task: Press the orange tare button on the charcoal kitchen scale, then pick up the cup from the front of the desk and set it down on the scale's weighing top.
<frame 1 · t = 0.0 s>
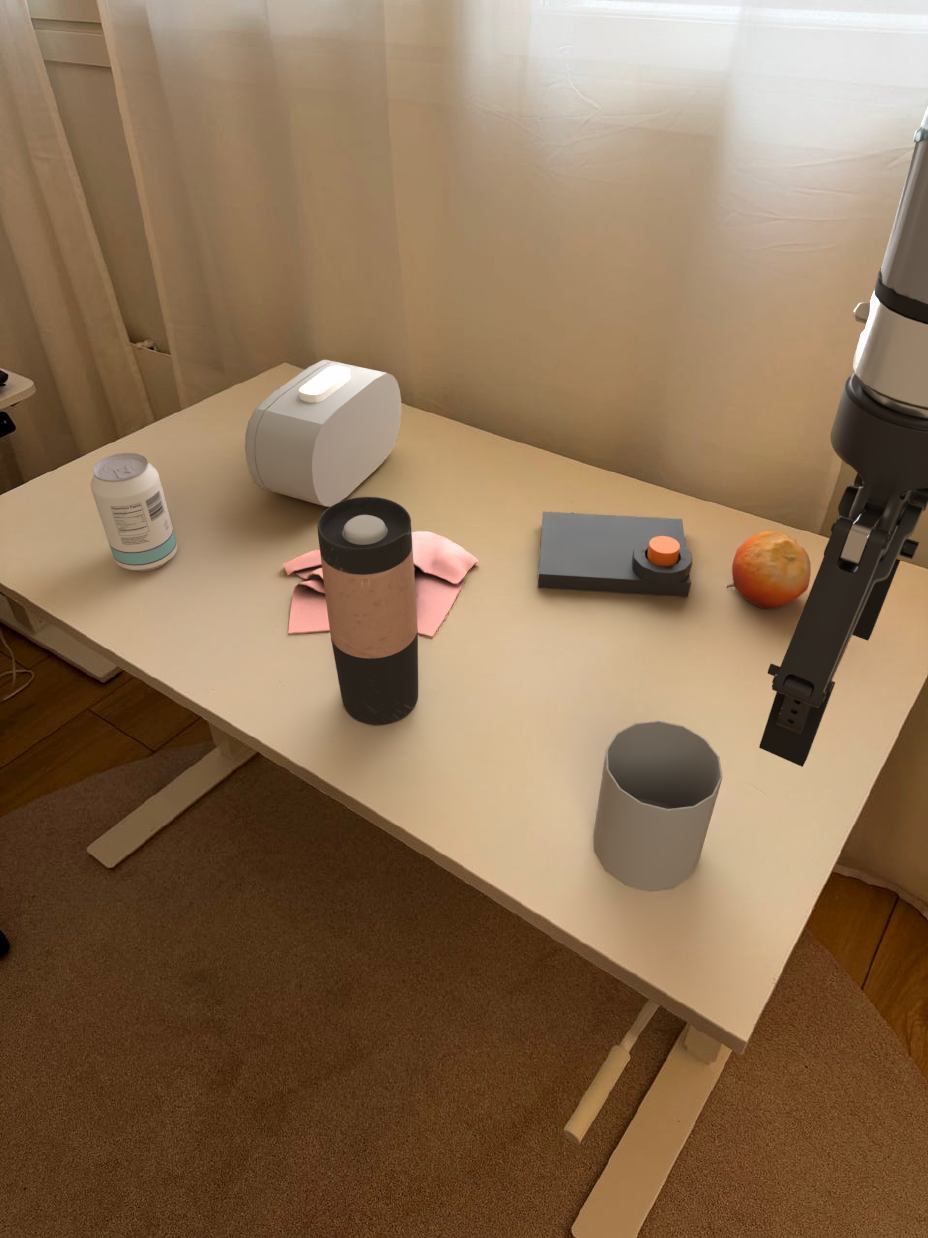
hand: (818, 688, 58), 19 cm above the table, tool pointing down, fingers open, 13 cm apart
alarm clock: (332, 478, 114), on the table
beverage can: (148, 559, 101), on the table
cup: (645, 846, 71), on the table
travel mug: (380, 699, 84), on the table
scale: (611, 559, 100), on the table
tare button: (663, 551, 94), point 4 cm above the table, slide at 0.1 cm
fruit: (763, 597, 95), on the table
cloth: (371, 584, 97), on the table
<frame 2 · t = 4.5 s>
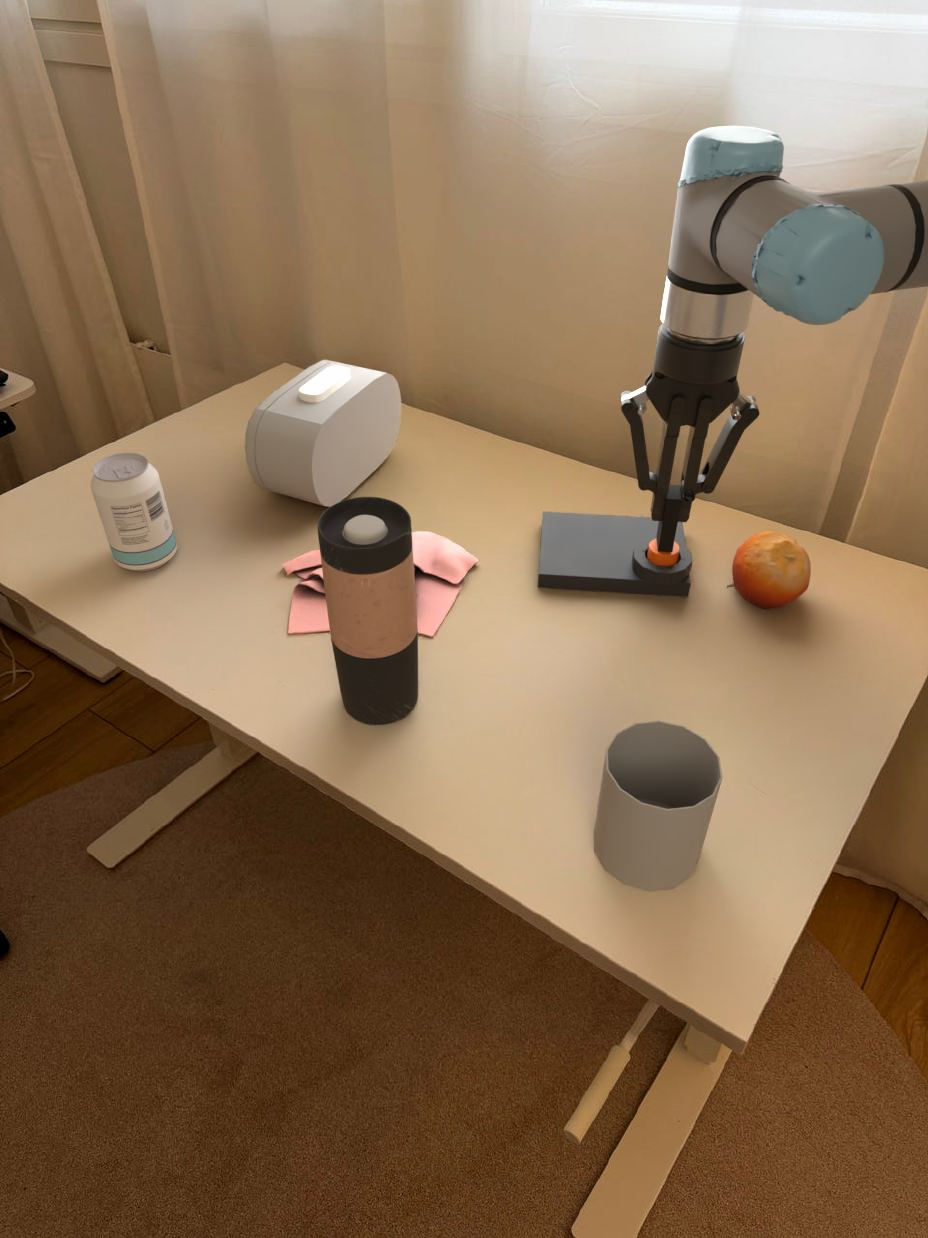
hand: (664, 544, 94), 5 cm above the table, tool pointing down, fingers closed
tare button: (663, 553, 95), point 4 cm above the table, slide at -0.1 cm, touching gripper
everything else where it was.
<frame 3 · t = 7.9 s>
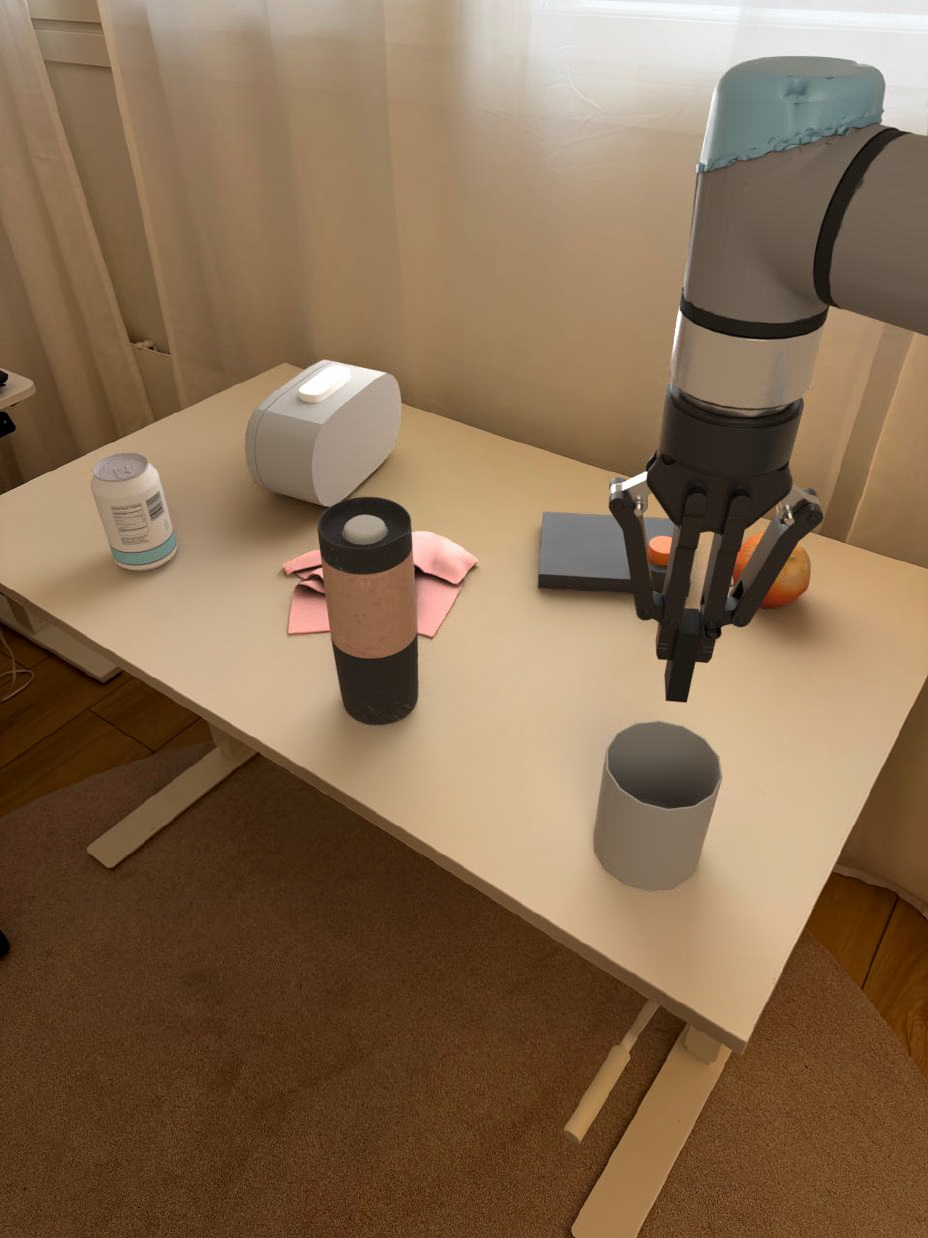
hand: (675, 688, 65), 14 cm above the table, tool pointing down, fingers closed
tare button: (663, 551, 94), point 4 cm above the table, slide at 0.1 cm
everything else where it was.
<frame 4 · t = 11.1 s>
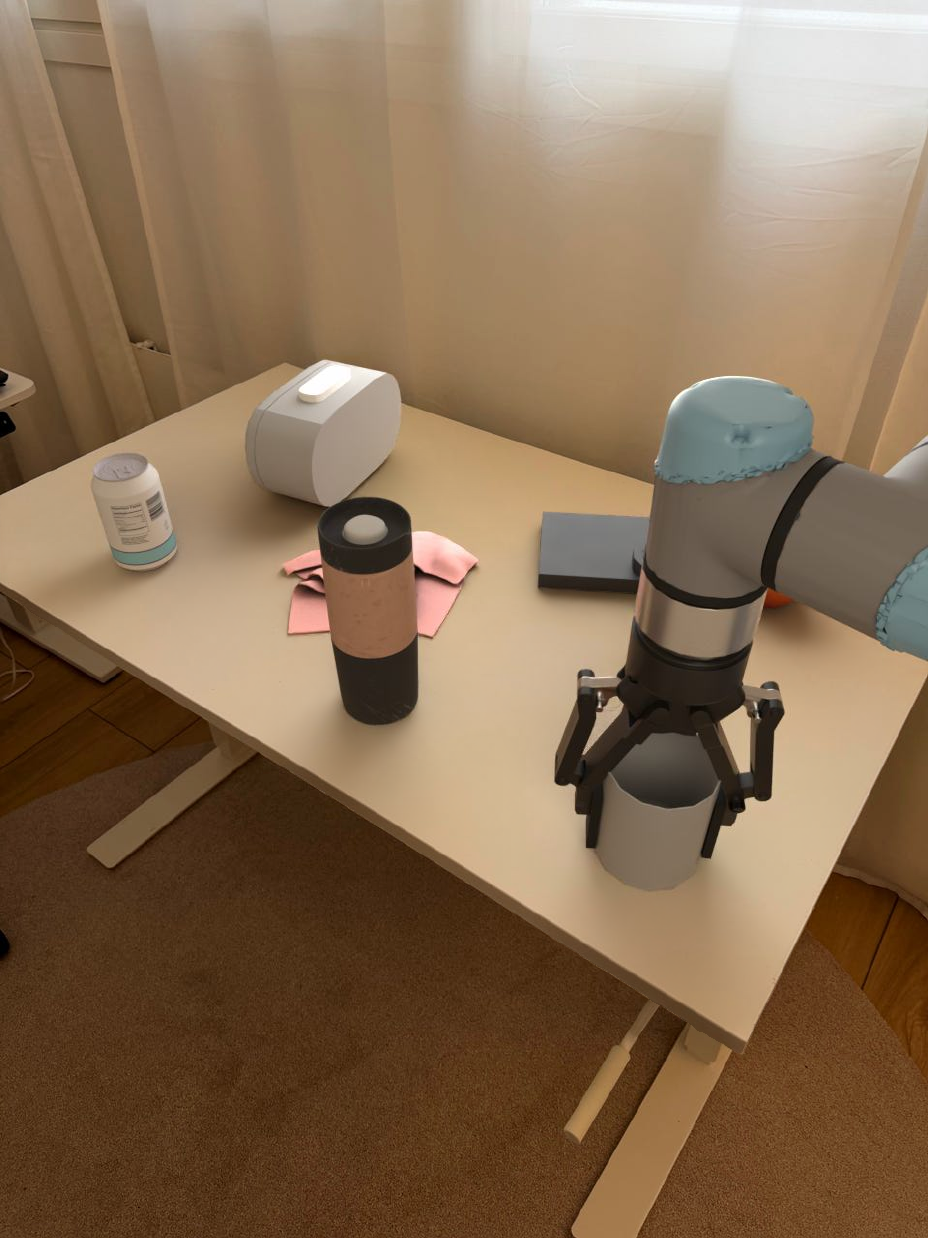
hand: (647, 839, 71), 1 cm above the table, tool pointing down, fingers closed on cup, 8 cm apart
cup: (645, 846, 71), on the table, touching gripper
everything else where it was.
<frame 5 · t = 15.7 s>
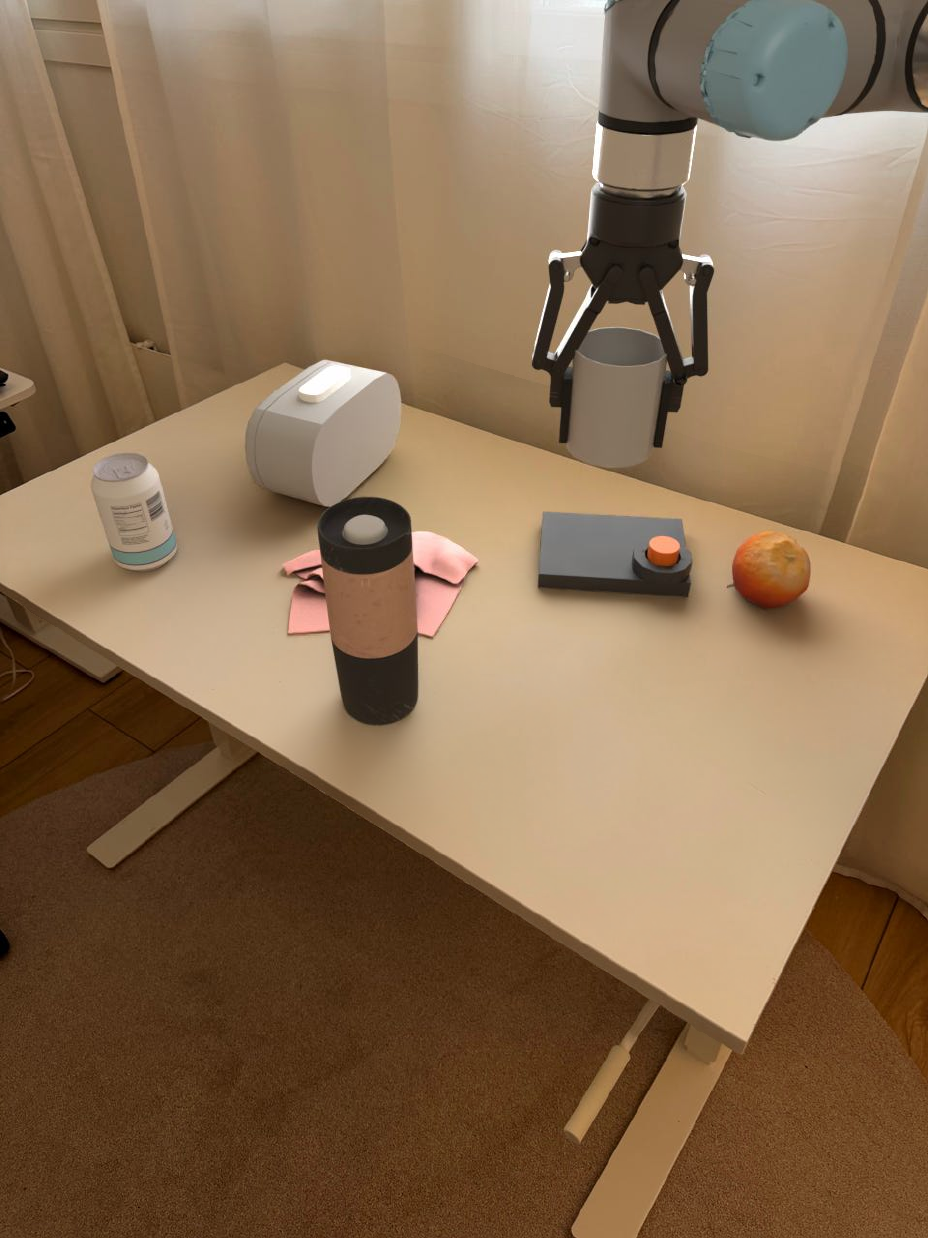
hand: (609, 438, 85), 18 cm above the table, tool pointing down, fingers closed on cup, 8 cm apart
cup: (608, 447, 86), point 17 cm above the table, touching gripper
everything else where it was.
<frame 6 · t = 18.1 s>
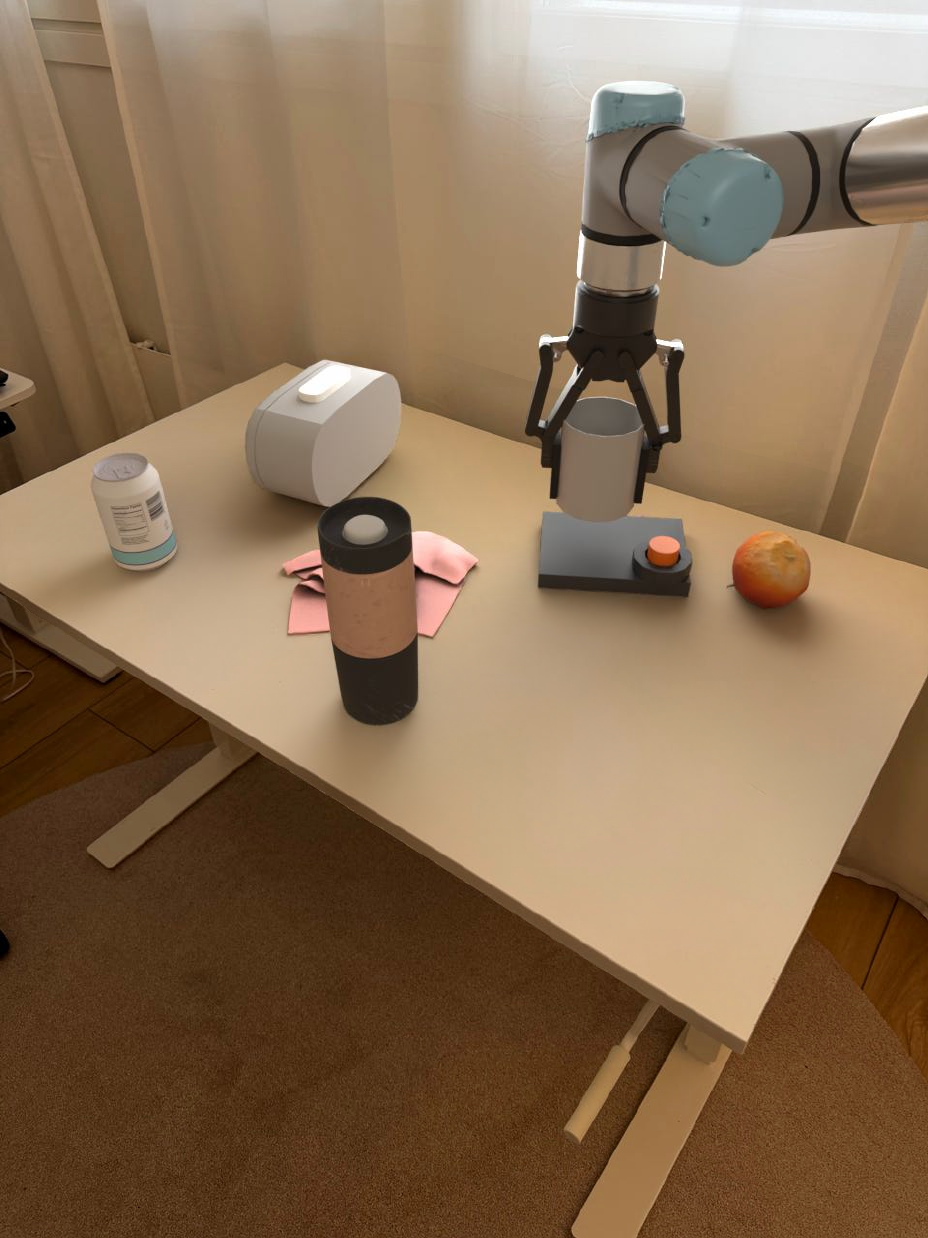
hand: (595, 494, 95), 8 cm above the table, tool pointing down, fingers closed on cup, 8 cm apart
cup: (594, 501, 96), point 7 cm above the table, touching gripper
everything else where it was.
when the fingers open (3 cm above the table, at t = 20.1 s): cup stays where it is, resting on scale.
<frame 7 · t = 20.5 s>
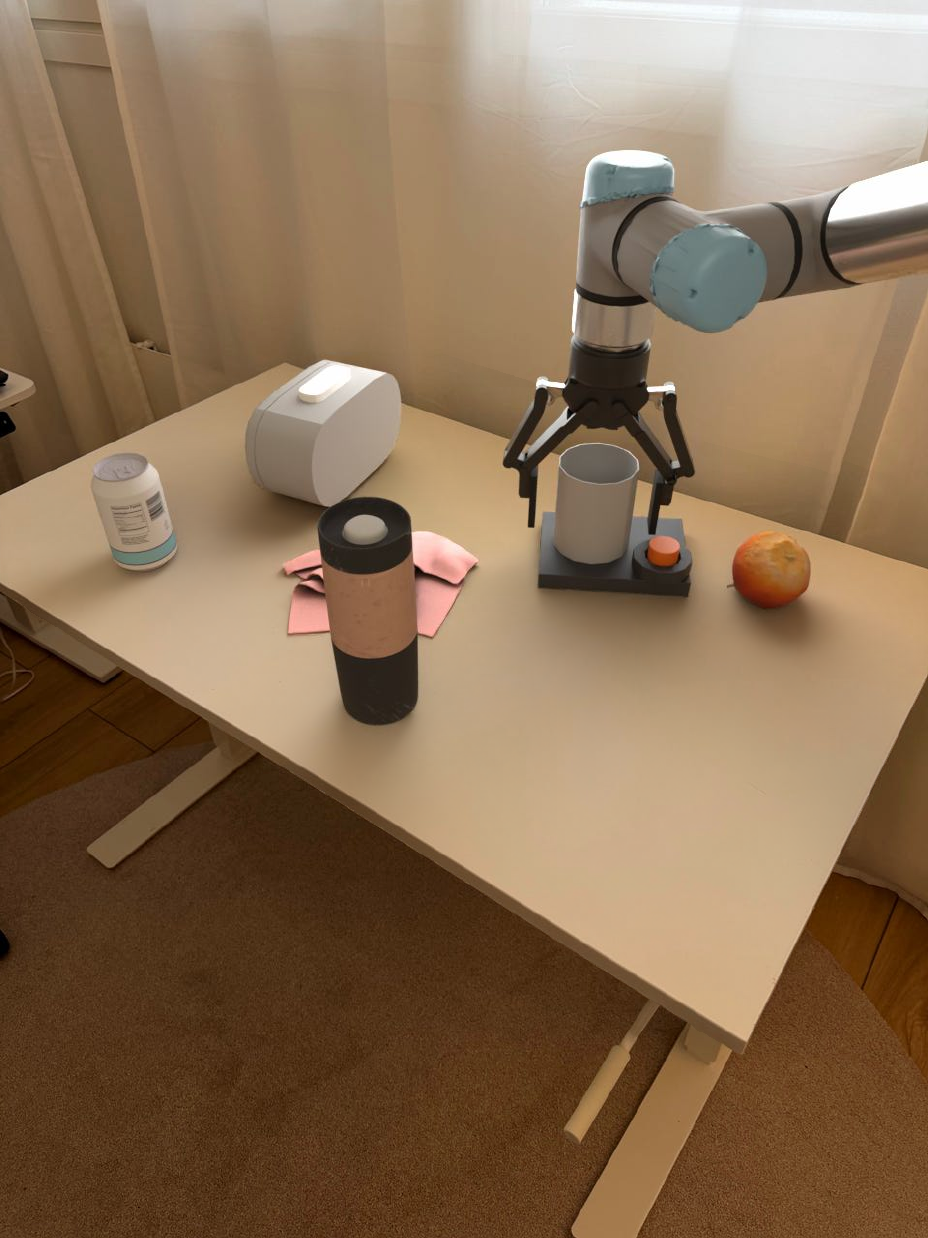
hand: (591, 524, 98), 4 cm above the table, tool pointing down, fingers open, 12 cm apart
cup: (590, 542, 100), point 2 cm above the table, touching scale
everything else where it was.
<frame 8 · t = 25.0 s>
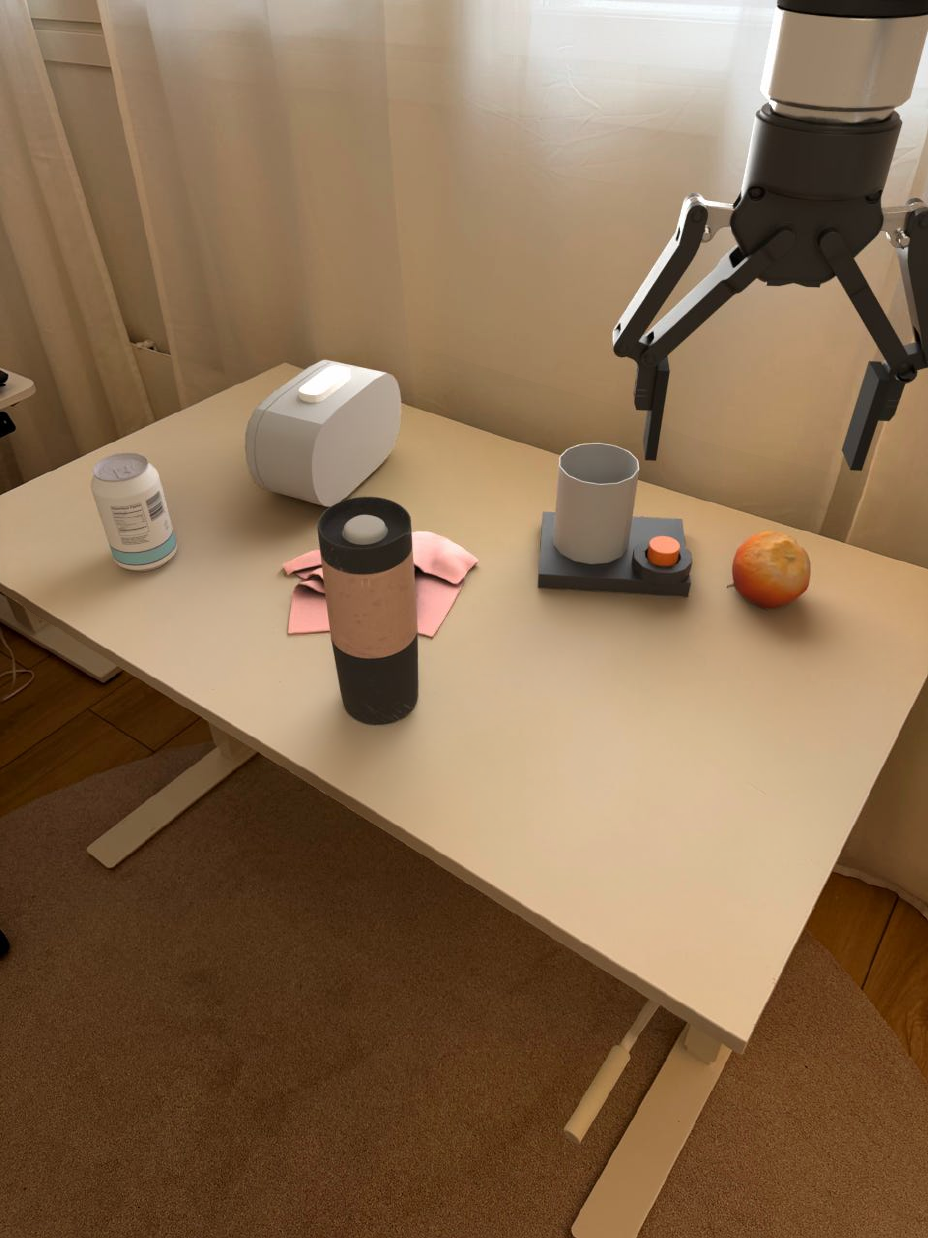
hand: (749, 455, 61), 29 cm above the table, tool pointing down, fingers open, 13 cm apart
nothing on the table moved.
at the end: tare button pushed in 0.8 cm at the most during the clip, back to where it started at the end; cup inside the target area on the scale (0.0 cm from its centre), point 1.7 cm above the scale's base; cup touching scale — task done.
